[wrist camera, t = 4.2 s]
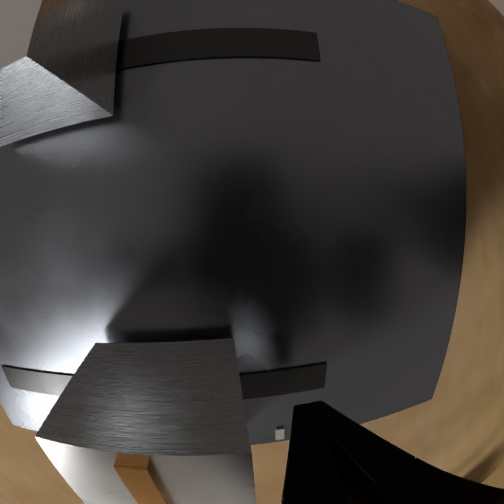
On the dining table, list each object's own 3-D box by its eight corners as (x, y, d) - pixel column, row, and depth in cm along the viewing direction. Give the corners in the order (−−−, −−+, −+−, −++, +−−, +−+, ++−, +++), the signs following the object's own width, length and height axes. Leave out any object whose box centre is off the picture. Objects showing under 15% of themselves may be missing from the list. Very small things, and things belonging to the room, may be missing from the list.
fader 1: (125, -2, 5) (83, -94, 1) (113, 115, 6) (19, 51, 2) (17, 36, 5) (-53, -12, 1) (0, 147, 6) (-102, 137, 2)
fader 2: (233, 338, 8) (252, 461, 4) (243, 436, 9) (261, 540, 4) (95, 342, 7) (31, 443, 3) (130, 438, 8) (107, 533, 4)
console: (423, 25, 8) (437, 16, 7) (420, 387, 11) (432, 399, 10) (-26, 64, 6) (-40, 58, 5) (21, 412, 9) (12, 425, 8)
